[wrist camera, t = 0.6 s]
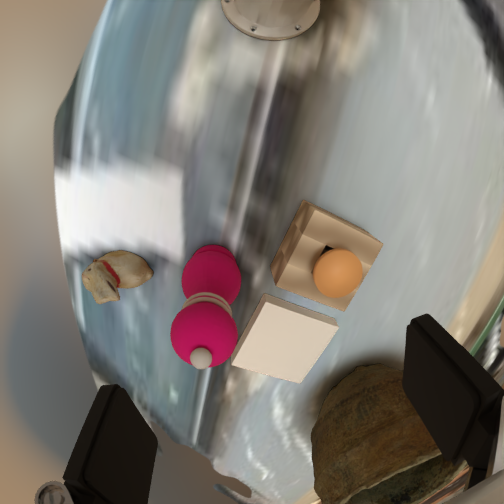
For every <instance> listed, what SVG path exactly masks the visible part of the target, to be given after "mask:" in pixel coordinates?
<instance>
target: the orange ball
mask: <svg viewBox="0 0 504 504" xmlns="http://www.w3.org/2000/svg"><path fill="white" fill-rule="evenodd" d="M362 273H363V269H362V264H361V262H360V260H359V259H358V258H357V256H356V255H355V254H354V253H352V252H351V251H349V250H347V249H343V248H336V249H334V248H332V247H329V246H327V245H325V247H324V249H323V251H322V253H321V255H320V257H319V259H318V260H317V262H316V264H315V266H314V269H313V279H314V282H315V284H316V286H317V288H318V290H319V291H320V292H321V293H322V294H324V295H325V296H327V297H331V298H339V297H343V296H346V295H348V294H349V293H351V292H352V291H353V290H354V289H355V288H356V287H357V286H358V285H359V283H360V281H361V278H362Z"/></svg>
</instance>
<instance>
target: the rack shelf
mask: <svg viewBox="0 0 504 504" xmlns="http://www.w3.org/2000/svg"><path fill="white" fill-rule="evenodd" d="M338 328H339V326H338V324H337V322H336V320H335V319H334V318H332V317H329V316H326V315H323V314H320V313H317V312H315V311H312V310H309V309H306V308H304V307H301V306H298V305H295V304H292V303H290V302H287V301H284V300H282V299H279V298H276V297H273V296H271V295H268V294H265V293H264V294H263V296H262V298H261V300H260V302H259V304H258V306H257V308H256V310H255V311H254V313H253V315H252V317H251V319H250V321H249V323H248V325H247V327H246V328H245V330H244V332H243V334H242V336H241V338H240V340H239V341H238V343H237V345H236V347H235V349H234V351H233V353H232V355H231V365H234V366H237V367H240V368H244V369H247V370H251V371H254V372H258V373H261V374H265V375H269V376H272V377H276V378H280V379H284V380H288V381H292V382H296V383H301V382H302V380H303V379H304V378H305V376H306V375H307V373H308V372H309V371H310V369H311V368H312V366H313V365H314V364H315V362H316V361H317V359H318V358H319V356H320V355H321V354H322V352H323V351H324V349H325V348H326V346H327V345H328V343H329V342H330V340H331V339H332V337H333V336H334V334H335V333H336V331H337V330H338Z"/></svg>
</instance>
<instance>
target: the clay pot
mask: <svg viewBox="0 0 504 504" xmlns="http://www.w3.org/2000/svg"><path fill="white" fill-rule="evenodd" d="M402 379H403V371H400V370H396V369H392V368H390V367H387V366H384V365H382V364H374V365H371V366H366V367H365V366H362V365H361V366H359V367H356V369H355V370H354V371H353V373H351V374H349V375H348V376H346V377H345V378H343V379H342V380H341V381H340V383H339V384H338V385H337V386H334V387H333V389H332V390H331V391H330V392H329V394H328V396H327V397H326V399H325V400H324V403H323V405H322V408H321V411H320V413H319V416H318V419H317V422H316V424H315V426H314V427H313V429H312V433H311V442H312V462H313V468H314V477H315V482H314V489H315V492H316V493H317V495H318V496H319V497H320V499H321V502H322V504H418V503H420V502H422V501H423V500H425V499H427V498H428V497H430V496H431V495H433V494H434V493H436V492H437V491H438V490H440V489H442V488H443V487H444V486H446V485H447V484H449V483H450V482H451V481H452V480H453V479H454V478H455V477H456V476H457V475H458V474H459V472H460V471H461V470H462V469H463V468H464V466H465V465H466V464H467V462H466V460H464V461H463V462H461V463H459V464H457V465H456V466H454V465H453V463H452V462H451V460H450V461H446V460H445V458H444V457H443V455H442V453H441V452H440V450H439V448H438V446H437V445H436V443H435V441H434V440H433V438H432V436H431V435H430V433H429V431H428V430H427V428H426V426H425V425H424V423H423V421H422V420H421V418H420V416H419V415H418V413H417V412H416V410H415V408H414V407H413V405H412V404H411V402H410V400H409V399H408V397H407V396H406V394H405V392H404V390H403V387H402Z"/></svg>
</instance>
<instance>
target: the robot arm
mask: <svg viewBox="0 0 504 504" xmlns="http://www.w3.org/2000/svg"><path fill="white" fill-rule="evenodd" d="M226 2H229V3H226ZM221 4H222V9H223V11H224V14H225V16H226V17H227V19H228V20H229V21H230V23H231V24H233V25H234V26H235V27H236V28H237V29H239V30H240V31H242V32H243V33H245V34H248V35H250V36H252V37H256V38H260V39H265V40H284V39H289V38H292V37H295V36H298V35H300V34H302V33H303V32H305V31H306V30H307V29H309V28H310V27H311V26H312V24H313V23H314V22H315V20H316V19H317V17H318V15H319V11H320V0H221ZM295 28H297V29H298V30H296V29H295ZM251 30H255V31H254V32H253V31H251ZM402 387H403V390H404V392H405V394H406V396H407V397H408V399H409V400H410V402H411V404H412V405H413V407H414V408H415V410H416V412H417V413H418V415H419V416H420V418H421V420H422V421H423V423H424V425H425V426H426V428H427V430H428V431H429V433H430V435H431V436H432V438H433V440H434V441H435V443H436V445H437V446H438V448H439V450H440V452H441V453H442V455H443V457H444V458H445V460H446V461H450V460H451V462H452V463H453V465H454V466H456V465H457V464H459V463H461V462H463V461H464V460H466V462H467V463H468V465H469V467H470V468H469V472H468V476H467V480H466V483H465V487H464V490H463V493H461V494H459V495H457V496H456V497H454V498H452V499H450V500H448V501H446V502H444V503H442V504H504V390H503V389H502V387H501V386H500V385H499V384H498V383H497V382H496V381H495V380H494V379H493V378H492V377H491V375H490V374H489V373H488V372H487V371H486V370H485V369H484V368H483V367H482V366H481V365H480V364H479V363H478V362H477V361H476V360H475V359H474V357H473V356H472V355H471V354H470V353H469V352H468V351H467V350H466V349H465V348H464V347H463V346H462V345H460V344H459V343H458V342H457V341H456V340H455V339H454V338H453V337H452V336H451V335H450V334H449V333H448V332H447V331H446V330H445V329H444V328H443V327H442V326H441V325H440V324H439V323H438V322H437V321H436V320H435V319H434V318H433V317H432V316H431V315H429V314H424V315H421V316H419V317H416V318H413V319H412V320H411V322H410V325H408V326H407V330H406V346H405V359H404V370H403V379H402ZM157 446H158V441H157V437H156V436H155V434H154V433H153V431H152V430H151V428H150V427H149V425H148V424H147V423H146V421H145V420H144V418H143V417H142V415H141V414H140V412H139V411H138V409H137V408H136V406H135V404H134V403H133V401H132V400H131V398H130V397H129V395H128V393H127V392H126V390H125V389H124V388H121V387H120V386H119V385H118V384H113V385H103V386H101V387H100V389H99V391H98V393H97V395H96V398H95V400H94V402H93V404H92V407H91V409H90V411H89V413H88V416H87V418H86V420H85V423H84V425H83V427H82V430H81V432H80V435H79V437H78V439H77V442H76V444H75V447H74V449H73V452H72V454H71V457H70V459H69V462H68V465H67V467H66V470H65V472H64V475H63V479H64V480H65V482H64V484H62V483H61V482H58V481H50V482H47V483H45V484H43V485H42V486H41V487H40V488H39V489H38V491H37V493H36V495H35V504H148V497H149V491H150V485H151V479H152V473H153V468H154V462H155V456H156V451H157Z"/></svg>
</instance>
